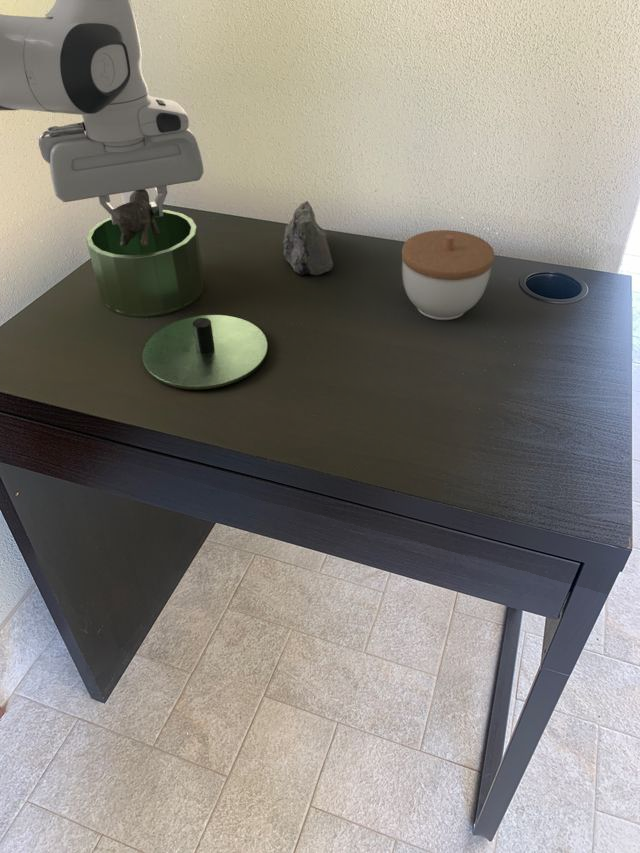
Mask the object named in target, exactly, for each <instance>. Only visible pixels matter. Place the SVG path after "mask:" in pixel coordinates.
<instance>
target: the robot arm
mask: <svg viewBox="0 0 640 853" xmlns="http://www.w3.org/2000/svg"><path fill="white" fill-rule="evenodd" d="M142 51H143V50H142V46H141V39H140V34H139V30H138V25H137V20H136V15H135V12H134V9H133V4H132V2H131V0H56V1H55V3H54V4H53V6H52V7H51V9H50V10H49V11H47V13H46V14H45V15H44V16H43V17H42V16H41V17H40V16H25V15H8V14H3V13H2V14H1V13H0V111H27V112H28V111H30V112H38V113H49V114H50V113H51V114H65V115H67V114H68V115H77V116H81V119H82V122H76V123H70V124H66V125H60V126H59V125H54V126H49V127H47V128H46V129H47V130H46V131H43V132H42V133H41V134H40V136H39V138H38V146H39V150H40V154H41V157H42V159H43V160H44V161H45V162H46V163H47V164H49V165H48V166H49V171H50V177H51V178H50V179H51V182H52V186H53V190H54V194H55V197H56V198H57V199H59V200H60V201H61V202H63V203H69V202H70V203H71V202H75V201H81V200H82V201H83V200H87V199H95V198H97V199H98V201H99V204H100V206H102V208H104V209H105V211H106V212H107V213H108V214H109V216H110V217H111V220H112V223H113V225H117V223H116V222H115V220H114V217H113V216H112V214H111V210H112V209H115V208H116V207H113V206H112V204H110V203H111V197H110V196H112V195H118V194H124V193H130V192H131V193H132V192H134V191H137V190H143V189H145V190H150V189H155V191H156V196H155V198H154V201H149V205H150V208H151V214H152V216H153V218H156V217H162V216H163V210H164V209H163V205H164V203H165V200H166V197H167V195H168V188H167V187H168V186H174V185H179V184H184V183H191V182H197V181H200V180H201V178H202V177H203V174H204V173H205V172H204V171H205V170H204V164H203V163H204V162H203V158H202V154H201V150H200V146H199V143H198V140H197V138H196V137H195V135H194V133H193V132H192V131H191V130H190V128H189V127H190V122H189V116H188V114H187V112H186V110H185V109H184V108H183V107H182V106H181V105H180V104H179V103H177V102H176V101H175V100H171V99H167V98H161V97H156V96H151V95H150V93H149V88H148V84H147V82H146V80H145V78H144V75H143V71H142V61H143V60H142V57H143V52H142Z"/></svg>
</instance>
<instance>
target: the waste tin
mask: <svg viewBox="0 0 640 853" xmlns="http://www.w3.org/2000/svg"><path fill="white" fill-rule="evenodd" d="M162 210H163V216H162V217H156V218H154V220H155V222H156V225H157V228H158V230H159V232H160V233H159V234H153V232H152V228H151V226H150V227H149V231H148V243H149V244H148V245H146V246H144V245H142V244H141V240H142V233H143V230H142V231H141V232H139V233H137V234H136V235H135V237H134V238H133V239H131V240H130V241H129V242H128V244H127V245H126V246H124V247H122V246H120V243H121V235H122V232H121V229H120V227H119V226H118V225H113V223H112V220H111V216H110V217H108V218H104V219H102V220H100V221H99V222H98V223H96V224H95V225H93V226H92V227H91V228H90V229H89V231H88V232H87V235H86V236H85V242H86V246H87V250H88V253H89V257H90V261H91V264H92V269H93V272H94V277H95V281H96V284H97V288H98V292H99V296H100V298H101V302H102V304H103V305H104V306H105V307H106V308H107V309H108V310H110V311H112V312H113V313H116V314H118V315H122V316H126V317H133V318H153V317H160V316H165V315H169V314H173V313H176V312H179V311H180V310H181V311H182V310H183V309H185V308H187V307H189V306H191V305H192V304H194V303H195V302H196V301H197V300H198V299H199V298H200V297H201V296H202V294H203V292H204V290H205V289H204V288H205V277H204V276H205V275H204V270H203V262H202V261H203V260H202V255H201V247H200V241H199V233H198V226H197V225H196V222H195V221H194V220H193V218H192V217H189V216H187V215H186V214H184V213H181V212H178V211H172V210H168V209H162Z"/></svg>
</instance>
